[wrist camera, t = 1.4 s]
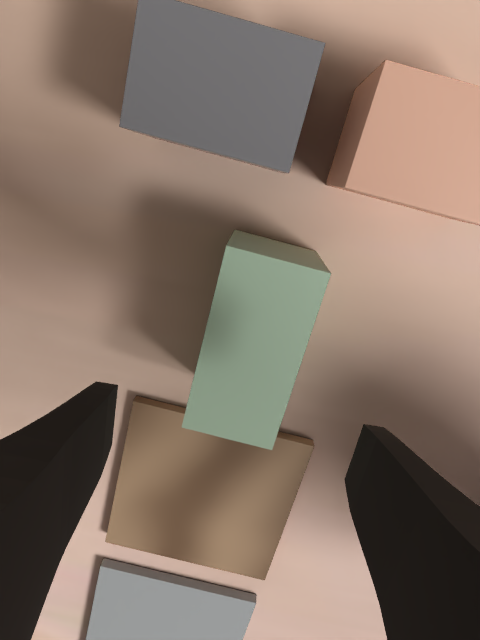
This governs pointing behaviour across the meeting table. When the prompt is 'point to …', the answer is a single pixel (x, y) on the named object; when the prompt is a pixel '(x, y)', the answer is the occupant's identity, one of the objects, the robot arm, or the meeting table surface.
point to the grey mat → (164, 607)
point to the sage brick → (255, 338)
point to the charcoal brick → (218, 83)
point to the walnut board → (203, 492)
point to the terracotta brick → (413, 142)
